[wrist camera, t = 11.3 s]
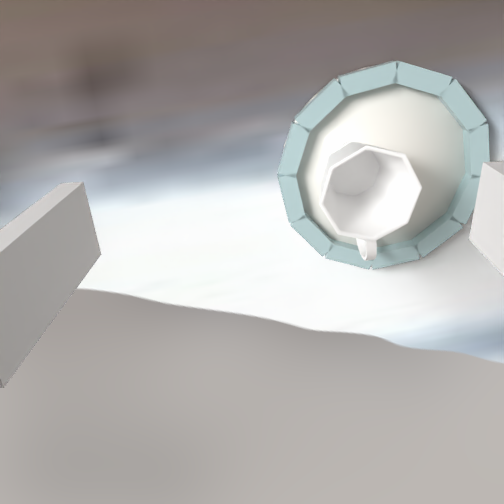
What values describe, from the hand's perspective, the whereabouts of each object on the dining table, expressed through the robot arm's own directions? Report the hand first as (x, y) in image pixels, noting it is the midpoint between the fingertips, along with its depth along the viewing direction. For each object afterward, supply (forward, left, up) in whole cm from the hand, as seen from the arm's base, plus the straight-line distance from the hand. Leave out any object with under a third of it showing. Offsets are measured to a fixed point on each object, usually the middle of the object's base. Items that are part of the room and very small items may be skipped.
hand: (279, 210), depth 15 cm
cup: (+4, +8, -23) cm, 25 cm away
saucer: (+2, +10, -24) cm, 26 cm away
